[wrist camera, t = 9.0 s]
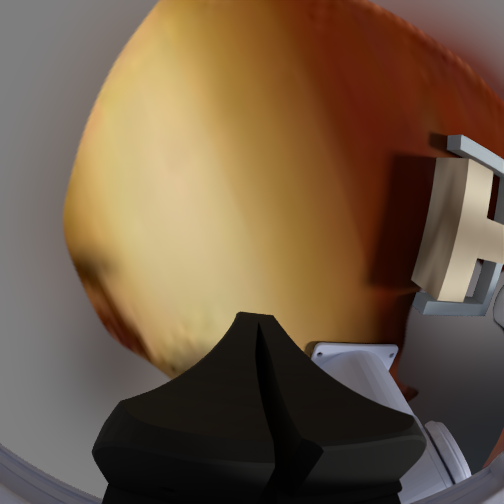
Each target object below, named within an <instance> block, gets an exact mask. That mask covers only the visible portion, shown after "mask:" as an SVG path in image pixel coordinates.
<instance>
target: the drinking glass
mask: <svg viewBox="0 0 504 504" xmlns="http://www.w3.org/2000/svg"><path fill="white" fill-rule="evenodd" d="M493 316H494V319H495V321H496V322H497V323H498V324H500V325H501V326H502V327H503V328H504V285H503V287H502V288H501V289H500V291H499V293H498V295H497V297H496V300H495V303H494V307H493Z"/></svg>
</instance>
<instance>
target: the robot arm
mask: <svg viewBox="0 0 504 504" xmlns="http://www.w3.org/2000/svg"><path fill="white" fill-rule="evenodd" d="M397 351H398V347H397V345H395V344H345V343H324V342H321V343H318V344H316V345H315V347H314V350H313V353H312V357H311V359H310V358H309V357H308V356H307V355H306V354H305V353H304V352H303V351H302V350H301V349H300V348H299V347H298V346H297V345H296V344H295V343H294V341H293V340H292V339H291V338H290V337H289V336H288V334H287V333H286V332H285V330H284V329H283V328H282V327H281V325H280V324H279V323H278V321H277V320H276V319H275V317H274V316H273V315H265V314H256V313H248V312H238V313H237V314H236V317H235V320H234V322H233V323H232V325H231V327H230V328H229V330H228V331H227V332H226V334H225V335H224V336H223V338H222V339H221V340H220V341H219V342H218V344H217V345H216V346H215V347H214V348H213V349H212V350H211V351H210V352H209V353H208V354H207V355H206V356H205V357H204V358H203V359H201V360H200V361H199V362H198V363H197V364H195V365H194V366H193V367H191V368H190V369H189V370H187V371H186V372H184V373H183V374H181V375H180V376H178V377H177V378H175V379H173V380H171V381H169V382H167V383H166V384H164V385H162V386H160V387H158V388H156V389H154V390H151V391H149V392H146V393H143V394H140V395H137V396H135V397H132V398H129V399H125V400H122V401H120V402H119V404H118V405H117V406H116V407H115V409H114V410H113V411H112V413H111V414H110V416H109V417H108V419H107V420H106V422H105V423H104V425H103V427H102V429H101V431H100V433H99V435H98V437H97V440H96V442H95V444H94V446H93V449H92V455H93V457H94V460H95V462H96V464H97V466H98V467H99V469H100V471H101V472H102V474H103V475H104V477H105V479H106V480H107V482H108V483H109V484H108V486H107V489H106V492H105V495H104V498H103V499H101V498H98V497H96V496H93V495H91V494H88V493H86V492H84V491H81V490H79V489H77V488H75V487H73V486H71V485H68V484H66V483H64V482H62V481H60V480H58V479H56V478H55V477H53V476H51V475H49V474H47V473H45V472H44V471H42V470H40V469H38V468H37V467H35V466H33V465H32V464H30V463H28V462H27V461H25V460H24V459H22V458H21V457H19V456H18V455H16V454H15V453H13V452H12V451H10V450H9V449H7V448H6V447H4V446H3V445H2V444H0V504H504V451H503V452H502V453H500V454H499V455H498V456H497V457H496V458H495V459H494V460H493V461H492V462H491V463H490V465H489V466H488V467H486V468H485V469H483V470H481V471H480V472H478V473H476V474H474V475H473V476H471V472H470V470H469V467H468V465H467V463H466V461H465V458H464V456H463V454H462V452H461V451H460V449H459V447H458V445H457V443H456V442H455V440H454V439H453V437H452V435H451V434H450V432H449V431H448V430H447V428H446V427H445V425H444V424H443V423H440V422H434V421H430V422H428V423H427V424H426V425H425V427H426V429H427V431H428V433H429V435H430V439H431V441H432V442H431V441H430V439H429V437H428V435H427V434H426V432H425V430H424V428H423V427H422V425H421V423H420V421H419V420H418V418H417V416H414V414H413V412H412V410H411V409H410V407H409V405H408V403H407V402H406V400H405V398H404V397H403V395H402V393H401V392H400V390H399V388H398V387H397V385H396V383H395V382H394V380H393V378H392V377H391V375H390V373H389V372H388V371H389V369H390V366H391V364H392V362H393V360H394V358H395V356H396V354H397ZM319 352H321V354H317V353H319ZM391 353H392V354H391ZM390 354H391V355H390ZM432 443H433V444H432ZM433 445H434V446H433ZM434 447H435V448H434ZM448 474H449V475H448ZM449 476H450V477H449Z"/></svg>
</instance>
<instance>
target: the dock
mask: <svg viewBox="0 0 504 504" xmlns="http://www.w3.org/2000/svg"><path fill="white" fill-rule="evenodd" d="M447 150H448V151H451V152H453V153H455V154H457V155H459V156H461V157H463V158H469V159H471V160H473V161H475V162H477V163H479V164H481V165H483V166H484V167H486V168H488V169H490V170H491V171H493V174H495V175H497V176H498V177H500V182H499V191H498V198H497V204H496V210H495V216H494V221H495V222H497V223H500V224H502V225H504V160H503V159H501V158H500V157H498V156H497V155H495V154H494V153H492V152H491V151H489V150H487V149H486V148H484V147H482V146H481V145H479V144H477V143H476V142H474V141H472V140H470V139H468V138H467V137H465V136H463V135H452V136H448V141H447ZM502 265H503V264H500V263H496V262H492V261H488V260H484V263H483V266H482V270H481V273H480V276H479V279H478V282H477V285H476V288H475V291H474V294H473V297H466V296H465V297H464V300H463V302H453V301H438V300H436V299H435V298H434V297H432V296H431V295H430V294H429V293H420V292H416V295H415V298H414V301H413V304H412V305H413V306H414V307H415V308H416V309H417V310H418V311H419V312H420V313H421V314H422V315H444V316H445V315H446V316H447V315H448V316H485V314H486V312H487V309H488V307H489V304H490V301H491V299H492V296H493V293H494V290H495V287H496V284H497V281H498V278H499V275H500V272H501V269H502Z"/></svg>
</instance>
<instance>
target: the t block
mask: <svg viewBox="0 0 504 504" xmlns="http://www.w3.org/2000/svg"><path fill="white" fill-rule="evenodd" d="M492 180H493V171H491V170H490V169H488V168H486V167H484V166H483V165H481V164H479V163H477V162H475V161H473V160H471V159H469V158H436V167H435V174H434V181H433V188H432V194H431V199H430V205H429V210H428V215H427V220H426V225H425V229H424V233H423V238H422V242H421V246H420V250H419V253H418V257H417V261H416V264H415V268H414V271H413V275H412V278H411V280H412V281H413V282H415V283H416V284H417V285H418V286H420V287H421V288H422V289H424V290H425V291H426V292H427V293H429V294H430V295H431V296H432V297H434V298H435V299H436V300H438V301H453V302H463V300H464V297H465V295H466V292H467V289H468V286H469V283H470V280H471V277H472V273H473V271H474V267H475V264H476V260H477V258H479V259H484V260H488V261H492V262H496V263H500V264H504V225H502V224H500V223H497V222H495V221H492V220H490V219H487V213H488V207H489V201H490V195H491V188H492Z"/></svg>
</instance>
